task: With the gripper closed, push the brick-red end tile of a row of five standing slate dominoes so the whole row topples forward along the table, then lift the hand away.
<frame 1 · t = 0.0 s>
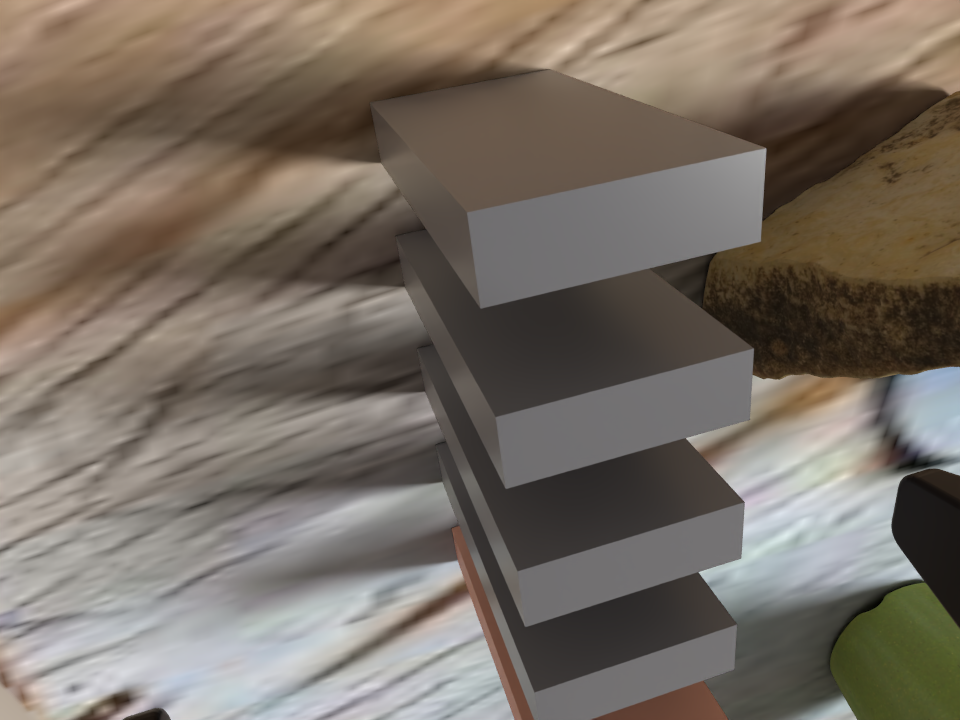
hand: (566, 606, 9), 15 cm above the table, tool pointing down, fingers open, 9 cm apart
domino 1: (519, 525, 28), on the table
domino 2: (509, 444, 26), on the table
rock: (825, 223, 26), on the table
domino 4: (482, 243, 22), on the table
domino 5: (465, 116, 21), on the table
domino 3: (496, 351, 24), on the table
plant pot: (884, 632, 38), on the table
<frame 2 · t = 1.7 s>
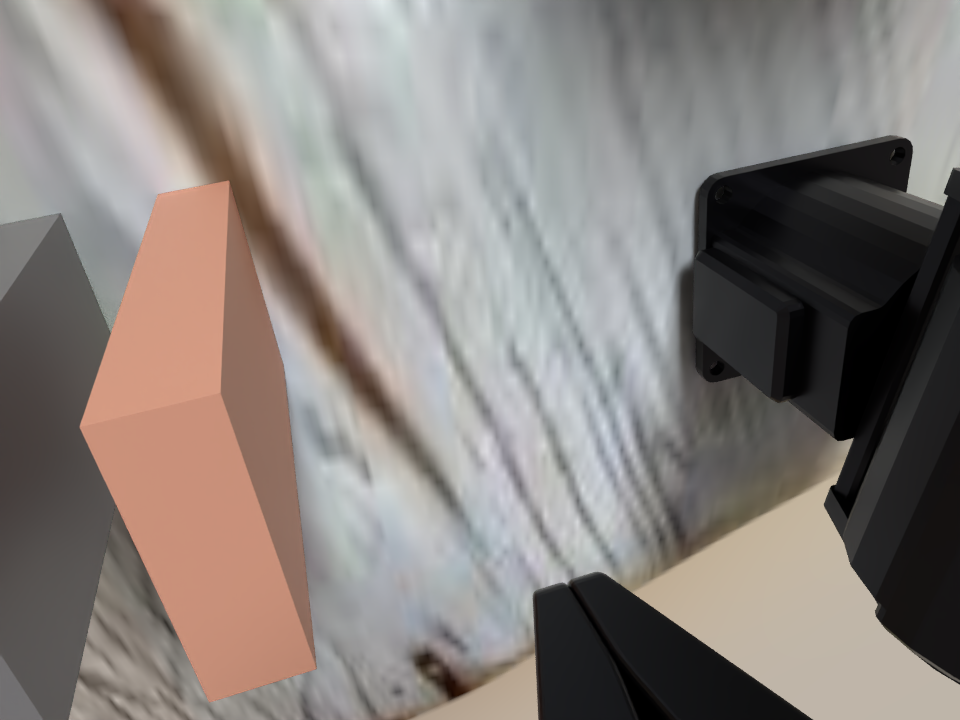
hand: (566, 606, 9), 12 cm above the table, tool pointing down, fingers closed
domino 1: (225, 286, 19), on the table
domino 2: (66, 321, 18), on the table
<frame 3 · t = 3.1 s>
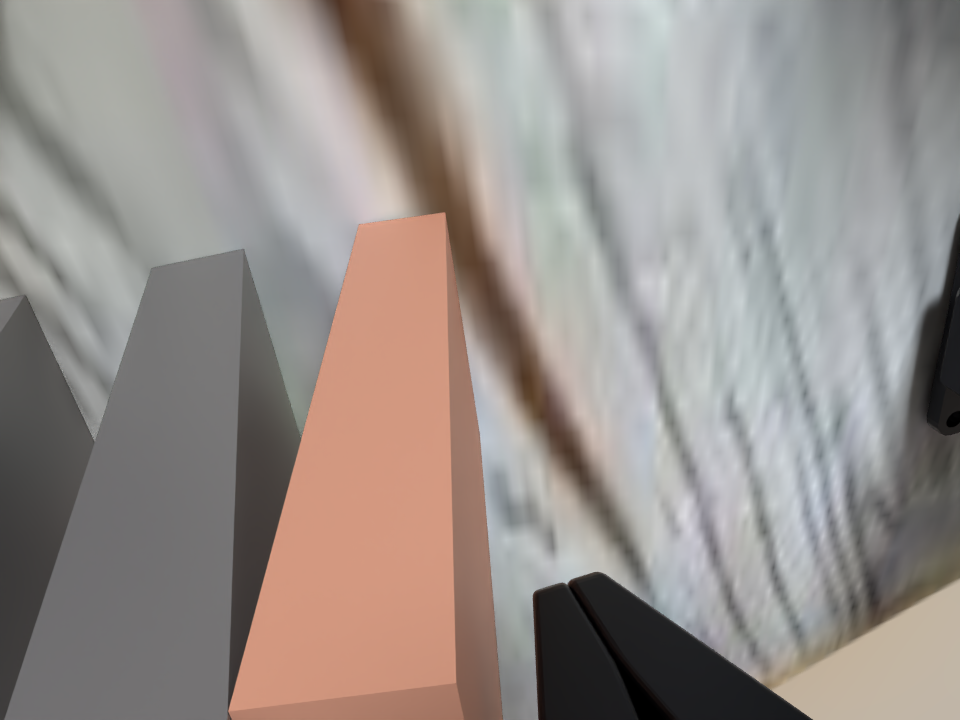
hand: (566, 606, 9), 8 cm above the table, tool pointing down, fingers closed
domino 1: (424, 337, 15), on the table, tilted 13°, touching gripper
domino 2: (238, 377, 15), on the table
domino 3: (36, 425, 14), on the table
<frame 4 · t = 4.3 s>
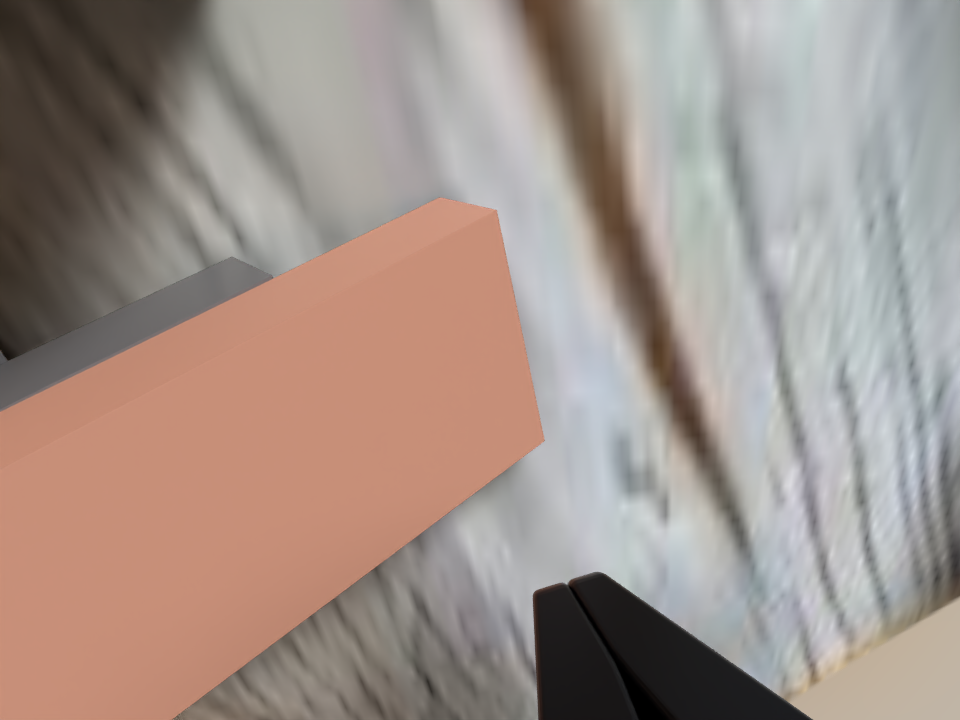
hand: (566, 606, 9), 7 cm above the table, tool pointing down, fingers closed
domino 1: (494, 325, 15), point 1 cm above the table, tilted 66°, touching domino 2
domino 2: (300, 385, 14), point 1 cm above the table, tilted 66°, touching domino 1
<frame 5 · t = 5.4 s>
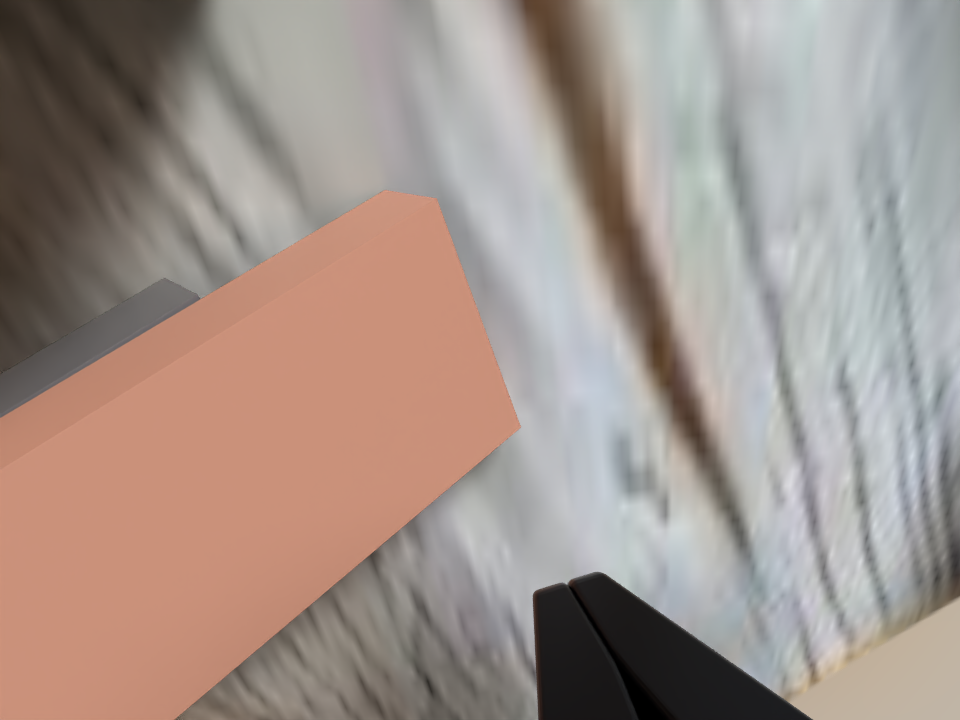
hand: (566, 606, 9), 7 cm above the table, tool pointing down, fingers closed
domino 1: (456, 314, 14), point 1 cm above the table, tilted 66°
domino 2: (250, 399, 14), point 1 cm above the table, tilted 65°, touching domino 3
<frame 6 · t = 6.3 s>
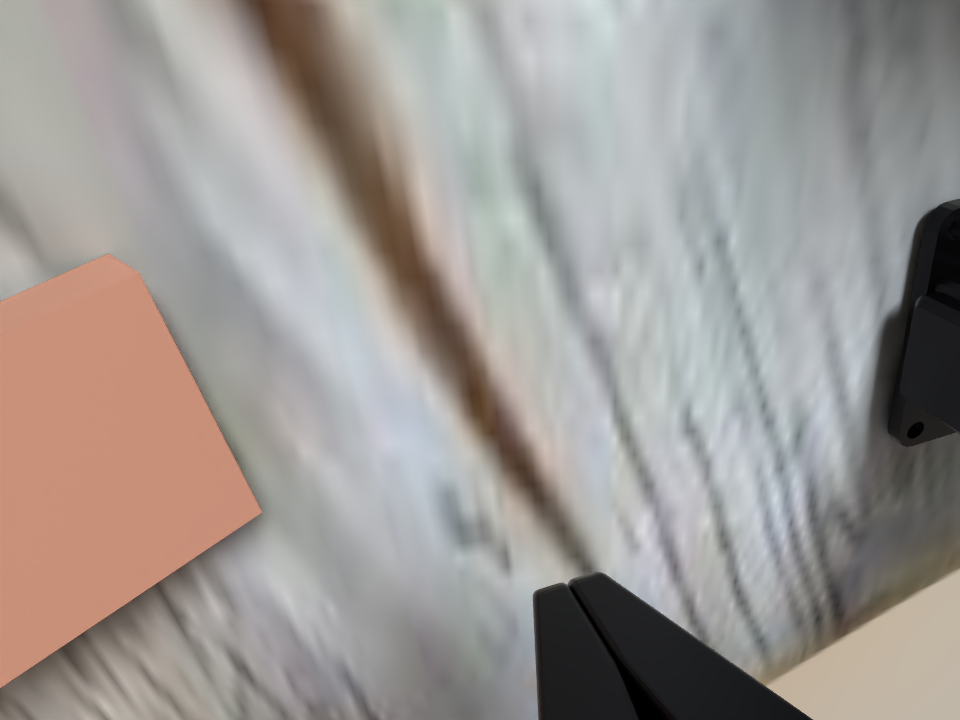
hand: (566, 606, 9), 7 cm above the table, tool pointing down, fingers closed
domino 1: (189, 390, 13), point 1 cm above the table, tilted 66°, touching domino 2
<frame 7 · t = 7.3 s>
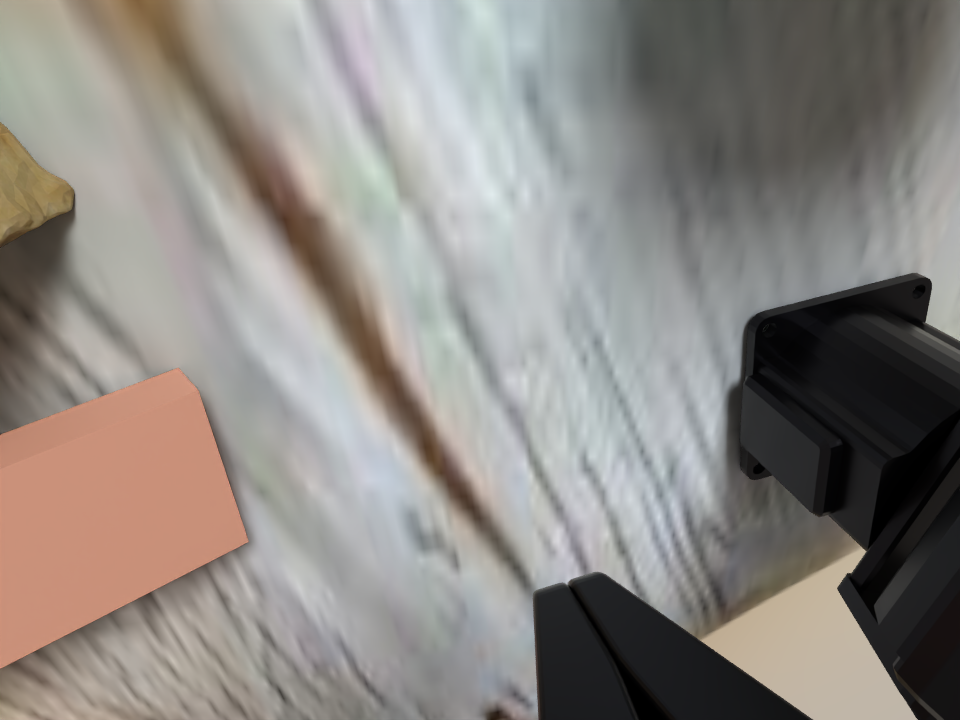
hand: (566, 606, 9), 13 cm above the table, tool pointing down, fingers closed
domino 1: (214, 457, 21), point 1 cm above the table, tilted 69°, touching domino 2
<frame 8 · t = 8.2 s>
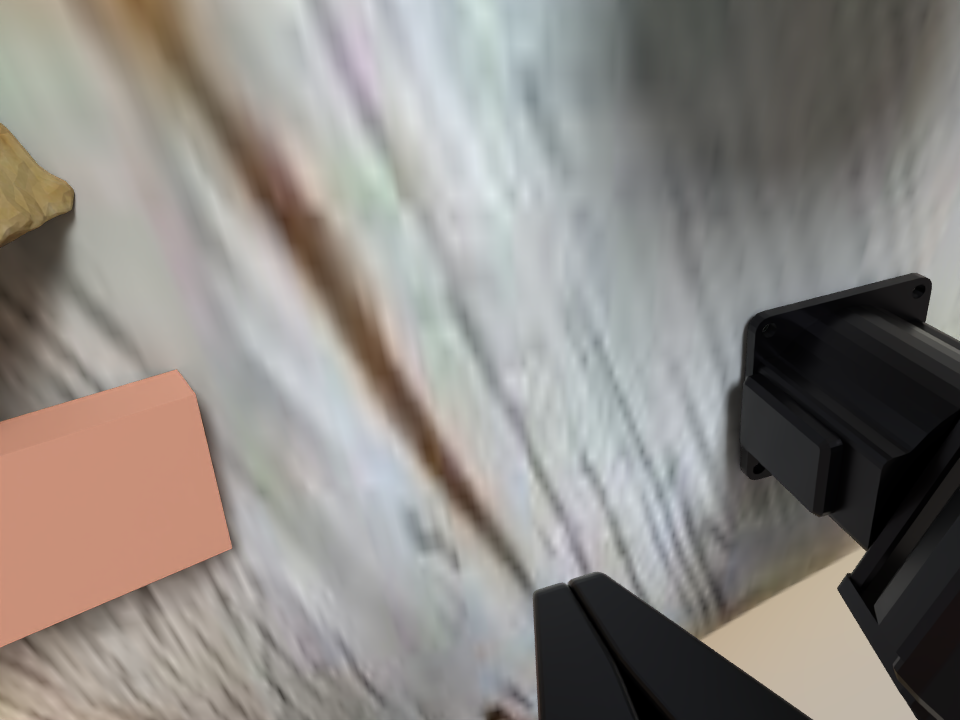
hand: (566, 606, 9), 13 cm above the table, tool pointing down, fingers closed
domino 1: (205, 461, 21), point 1 cm above the table, tilted 70°, touching domino 2
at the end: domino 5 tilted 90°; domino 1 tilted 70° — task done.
